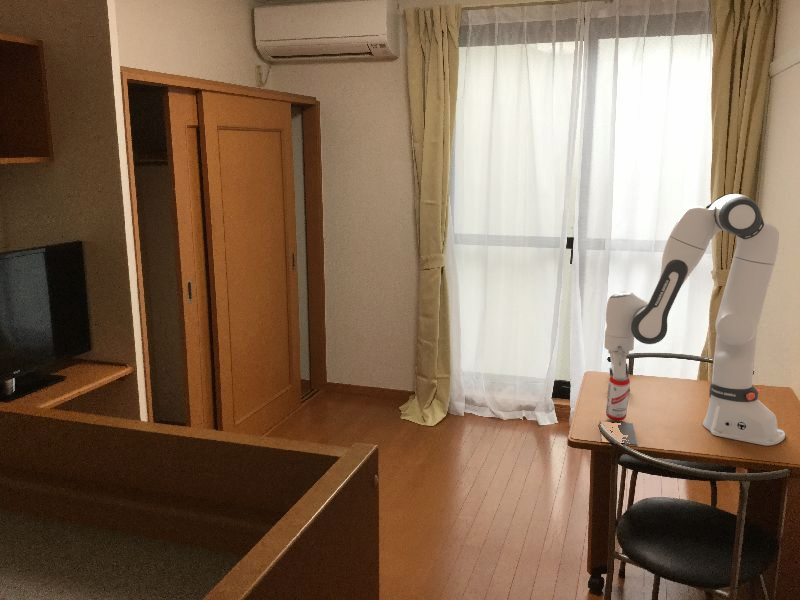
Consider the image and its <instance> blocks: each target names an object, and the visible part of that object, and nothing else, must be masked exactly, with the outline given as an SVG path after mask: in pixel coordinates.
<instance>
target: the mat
mask: <svg viewBox="0 0 800 600" xmlns="http://www.w3.org/2000/svg"><path fill="white" fill-rule="evenodd" d="M620 423H621V425H618V428H619V430H620V432H621V433H622V434H623V435H628V437H627V438H626V437H623V438H622V439H626V440H627V441H626V440H622V442H623V441H624V443H626V444H625V445H627V444H629V443H630V444H633V445H632V446H638V442H637V438H636V432H635V427H634V424H633V422H632V423H631V422H620ZM612 428H613V427H612ZM610 431H611V430H610ZM612 432H613V431H611V433H612ZM628 440H629V441H628ZM627 442H628V443H627Z"/></svg>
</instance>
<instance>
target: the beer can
mask: <svg viewBox="0 0 800 600" xmlns="http://www.w3.org/2000/svg"><path fill="white" fill-rule="evenodd" d="M630 385H631V379H630V377H629V373H628V374H627V373H626V377H625V380H617V379H614V378H613V373H612V375H611V377H610V376H609V379H608V390H607V396H606V398H607V399H606V406H605V407H606V409H605V410H606V411H605V415H606V417H607V418H609V420H610V421H613V420H614V421H613V422H622V421H623V420H625V419H626V418H627V413H628V403H629V397H630V396H629V395H630V392H629V387H630ZM630 388H631V387H630Z"/></svg>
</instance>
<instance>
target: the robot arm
mask: <svg viewBox="0 0 800 600" xmlns="http://www.w3.org/2000/svg"><path fill="white" fill-rule="evenodd" d="M722 231H724V232H727V233H729V234H731V235H734V236H735V237H736V247H735V250H734V254H733V257H732V260H731V265H730V268H729V272H728V275H727V280H726V283H725V287H724V290H723V294H722V298H721V302H720V305H719V309H718V312H717V316H716V320H715V325H714V326H715V332H716V337H715V344H714V345H715V346H714V353H713V363H712V365H713V367H712V378H711V379H712V380H710V385H709V390H708V391H709V394H708V395H709V404H708V407H707V411H706V414H705V417H704V420H703V422H702V425H703V427H704V428H705V429H707V430H708V431H710V433H711V434H712V435H713V436H716V437H722V438H726V439H731V440H736V441H741V442H746V443H751V444H755V445H761V446H766V447H767V446H774V445H778V444H780V443H782V441H784V440H785V438H786V433H785V431H784V430H783V429H780V428H778V420H777V416H776V415H775V413H774V412H773V411H771V410H770V409H769V408H768V407H767V406H766V405H764V403H763V402H762V401H760V400H759V394H760V393H761V392H760V391H761V389H760V388H758V389H757V388H756V387H754V385H753V376H754V368H755V367H754V365H755V357H756V356H755V355H756V346H757V334H758V326H759V323H760V318H761V315H762V311H763V309H764V308H763V307H764V303H765V301H766V296H767V292H768V289H769V286H770V285H769V284H770V281H771V279H772V274H773V272H774V268H775V264H776V261H777V255H778V250H779V243H780V232H779V230H778V228H777V227H776V226H775V225H773V224H772V223H770V222H766V221H764V217H763V216H762V212H761V209H760V207H759V205H758V203H757V202H756V201H755V200H753V199H752V198H750V197H748V196H746V195H744V194H742V193H741V194H740V193H726V194H723V195H721V196H719V197H717V198H716V199H715V200H714V201H712V202H711V203H710V204H708V205H706V206H700V205H695V206H689V207H688V208H686V209H685V210H684V212H683V213H682V215H680V217H679V219H678V220H677V222H676V224H674V227H673V228H672V230H671V232H670V234H669V236H668V239H667V241H666V244H665V246H664V249H663V253H662V258H661V267H660V268H661V269H660V270H661V271H660V275H659V279H658V282H657V284H656V286H655V288H654V291H653V292H652V295H651V297H650V299H649V301H646V300H644V299H642V298H640V297H638V296H637V295H635V293H634V292H630V291H622V292H617V293H613V294H612V295H611V296H610V297H609V298H608V300H607V303H606V309H605V310H606V311H605V322H606V328H605V331H604V344H603V345H604V349H606V350H607V353H608V354H609V357H610V364H611V365H610V366H611V367H612V372H613V378H614V379H617V380H625V377H626V363H627V356H628V355H629V354H630V352H632V351H633V350H634V347H635V339H636V340H637V341H638V342H640V343H642V344H644V345H654V344H657V343H659V342H661V341H663V339H665V338H666V335H667V333H668V317H669V313H670V311H671V309H672V307H673V305H674V303H675V300H676V298H677V296H678V294H679V291H680V290H681V288H682V287H683V285H684V284H685V282H686V281H687V279H688V277H690V275H691V274H692V272H693V271H694V270H695V269H696V268H697V266H698V265H699V263H700V262H701V260H702V259H703V257H704V254H705V253H706V250H707V248H708V247H709V244H710V241H711V240H712V239H713V238H714V237H715V236H716V234H718V233H719V232H722Z"/></svg>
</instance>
